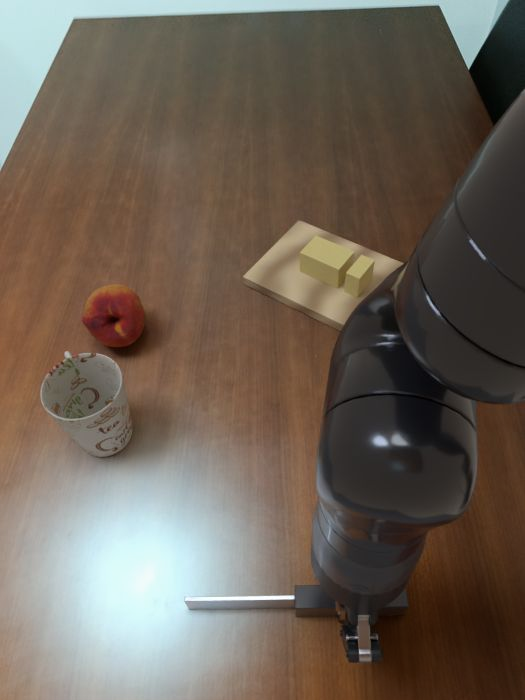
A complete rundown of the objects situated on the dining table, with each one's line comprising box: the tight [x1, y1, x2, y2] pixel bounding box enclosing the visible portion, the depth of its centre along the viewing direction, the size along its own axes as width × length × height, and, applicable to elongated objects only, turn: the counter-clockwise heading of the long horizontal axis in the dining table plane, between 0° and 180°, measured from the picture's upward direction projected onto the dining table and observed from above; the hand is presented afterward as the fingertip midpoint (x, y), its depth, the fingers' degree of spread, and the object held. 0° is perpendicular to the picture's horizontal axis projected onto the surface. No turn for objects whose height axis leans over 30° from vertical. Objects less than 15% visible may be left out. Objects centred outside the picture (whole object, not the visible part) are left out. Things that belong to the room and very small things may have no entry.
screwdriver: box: [183, 584, 409, 618], centre depth 53 cm, size 20×2×3 cm, turn 90°
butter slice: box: [344, 255, 375, 297], centre depth 76 cm, size 2×4×4 cm, turn 145°
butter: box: [300, 236, 354, 288], centre depth 78 cm, size 6×4×4 cm, turn 55°
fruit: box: [81, 283, 146, 348], centre depth 73 cm, size 8×8×8 cm
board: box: [242, 219, 405, 332], centre depth 79 cm, size 22×14×2 cm, turn 55°
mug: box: [39, 350, 134, 458], centre depth 64 cm, size 8×13×10 cm, turn 33°
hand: (348, 603), depth 54 cm, fingers closed on screwdriver, 2 cm apart
